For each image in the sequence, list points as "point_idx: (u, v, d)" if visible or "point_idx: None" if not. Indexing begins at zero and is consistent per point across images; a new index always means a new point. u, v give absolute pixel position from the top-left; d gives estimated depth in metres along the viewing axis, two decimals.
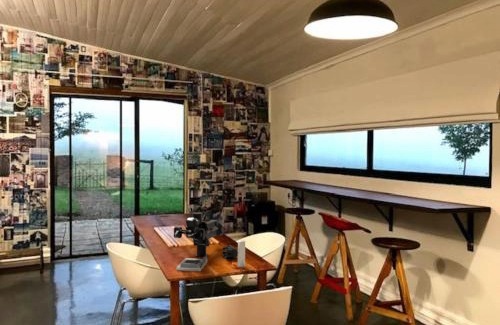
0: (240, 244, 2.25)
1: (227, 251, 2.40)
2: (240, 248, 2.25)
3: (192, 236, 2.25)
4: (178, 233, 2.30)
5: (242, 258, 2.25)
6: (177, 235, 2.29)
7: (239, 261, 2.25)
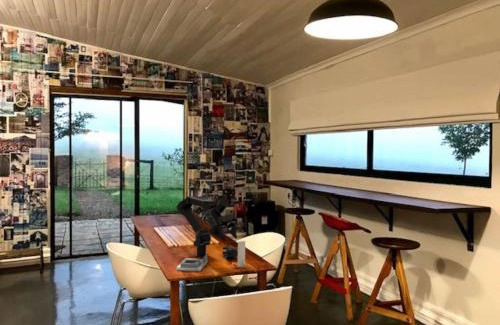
0: (240, 244, 2.25)
1: (227, 251, 2.40)
2: (240, 248, 2.25)
3: None
4: None
5: (242, 258, 2.25)
6: None
7: (239, 261, 2.25)
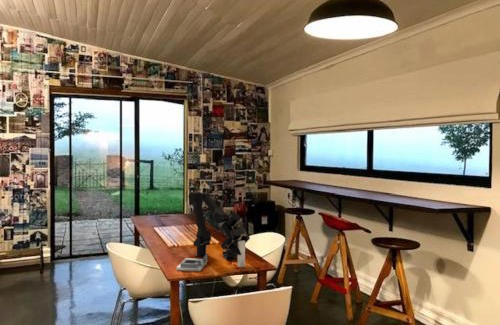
0: (240, 244, 2.25)
1: (227, 251, 2.40)
2: (240, 248, 2.25)
3: None
4: None
5: (242, 258, 2.25)
6: None
7: (239, 261, 2.25)
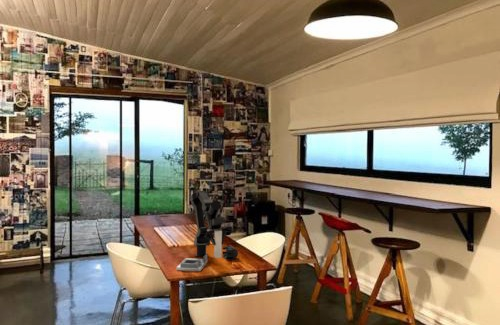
0: (215, 233, 2.19)
1: (227, 251, 2.40)
2: (215, 237, 2.19)
3: None
4: None
5: (217, 248, 2.19)
6: None
7: (214, 251, 2.20)
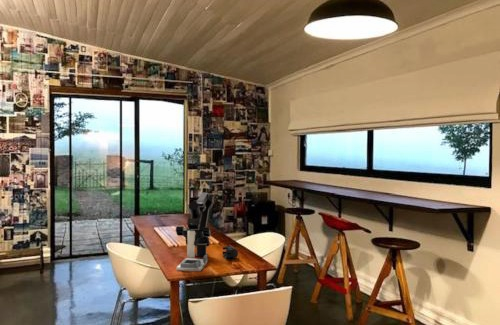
0: None
1: (227, 251, 2.40)
2: (187, 237, 2.20)
3: (196, 242, 2.21)
4: None
5: (188, 248, 2.20)
6: None
7: (187, 251, 2.21)
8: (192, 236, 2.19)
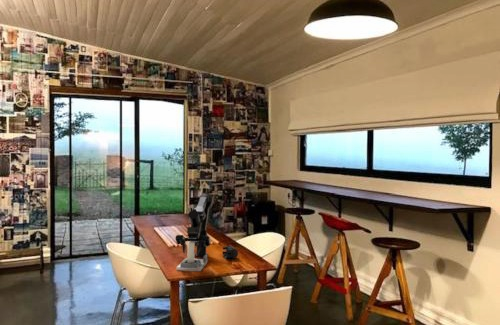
0: (187, 244, 2.21)
1: (227, 251, 2.40)
2: (187, 248, 2.21)
3: (198, 250, 2.21)
4: (184, 245, 2.23)
5: (188, 260, 2.20)
6: (185, 248, 2.23)
7: (187, 262, 2.21)
8: (192, 247, 2.20)
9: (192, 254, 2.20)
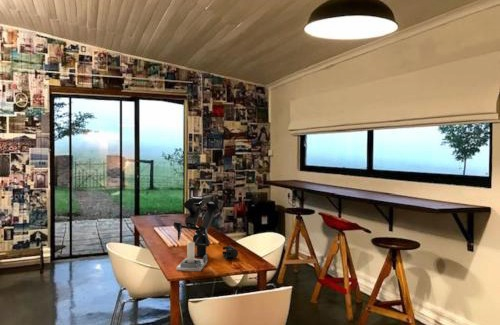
0: (187, 244, 2.21)
1: (227, 251, 2.40)
2: (187, 248, 2.21)
3: (196, 240, 2.29)
4: (180, 232, 2.32)
5: (188, 260, 2.20)
6: (180, 235, 2.31)
7: (187, 262, 2.21)
8: (192, 247, 2.20)
9: (192, 254, 2.20)
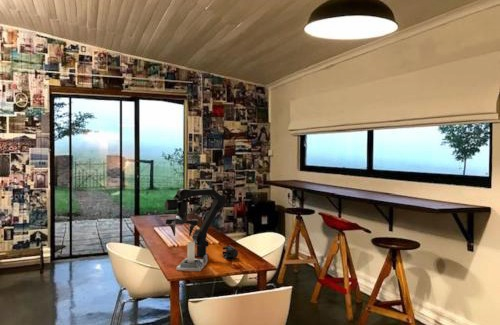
0: None
1: (227, 251, 2.40)
2: (187, 248, 2.21)
3: (190, 233, 2.41)
4: (174, 228, 2.42)
5: (188, 260, 2.20)
6: (174, 230, 2.43)
7: (187, 262, 2.21)
8: (192, 247, 2.20)
9: (192, 254, 2.20)
